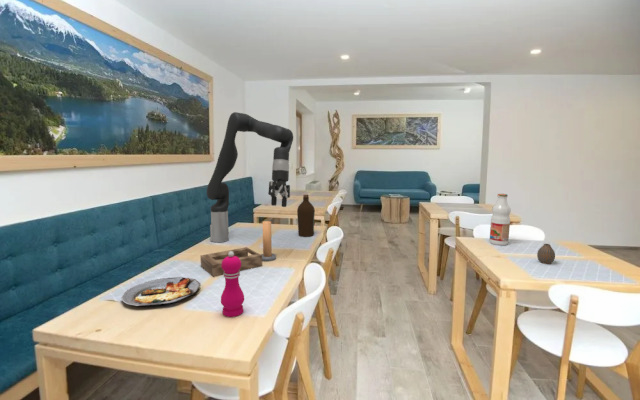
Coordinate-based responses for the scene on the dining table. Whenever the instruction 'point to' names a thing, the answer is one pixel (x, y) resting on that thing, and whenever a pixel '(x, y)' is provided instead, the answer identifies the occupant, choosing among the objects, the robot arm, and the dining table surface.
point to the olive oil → (305, 218)
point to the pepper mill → (232, 287)
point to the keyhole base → (215, 259)
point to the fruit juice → (500, 221)
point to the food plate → (161, 291)
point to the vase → (546, 254)
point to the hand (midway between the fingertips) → (279, 206)
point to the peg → (267, 242)
